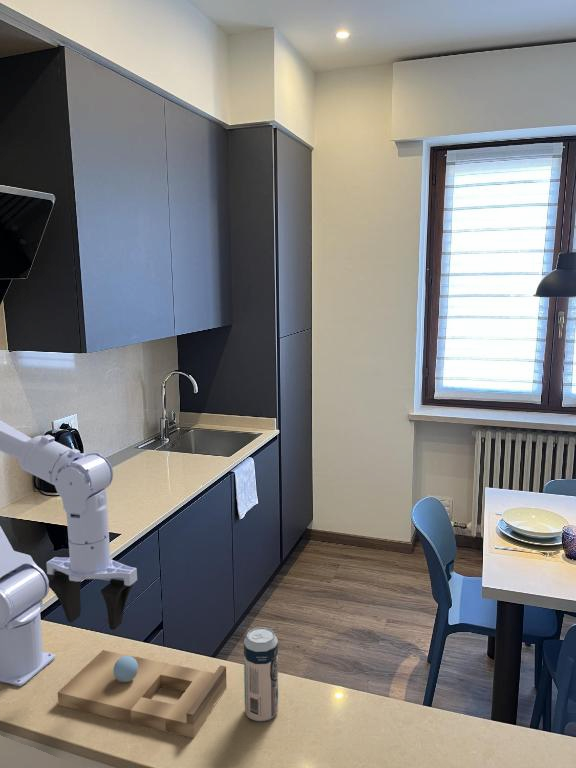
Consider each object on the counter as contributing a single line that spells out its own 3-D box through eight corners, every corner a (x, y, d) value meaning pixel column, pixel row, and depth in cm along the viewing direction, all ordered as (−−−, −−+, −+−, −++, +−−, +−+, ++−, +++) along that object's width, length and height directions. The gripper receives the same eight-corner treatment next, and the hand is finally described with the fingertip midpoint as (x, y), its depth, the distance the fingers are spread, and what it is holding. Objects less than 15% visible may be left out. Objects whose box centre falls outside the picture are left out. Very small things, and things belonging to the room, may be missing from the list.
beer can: (283, 718, 83) (282, 640, 81) (250, 728, 81) (249, 647, 79) (271, 697, 87) (270, 622, 86) (240, 706, 86) (239, 629, 84)
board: (58, 704, 86) (56, 683, 85) (103, 661, 96) (102, 641, 96) (193, 738, 79) (193, 714, 79) (226, 687, 90) (226, 666, 89)
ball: (109, 685, 87) (107, 662, 87) (122, 670, 91) (121, 649, 90) (130, 689, 86) (129, 667, 86) (143, 675, 89) (142, 653, 89)
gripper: (29, 542, 85) (36, 629, 87) (115, 553, 81) (121, 644, 83) (61, 524, 92) (67, 606, 94) (142, 534, 88) (147, 619, 89)
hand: (94, 622), depth 89 cm, fingers open, 7 cm apart
